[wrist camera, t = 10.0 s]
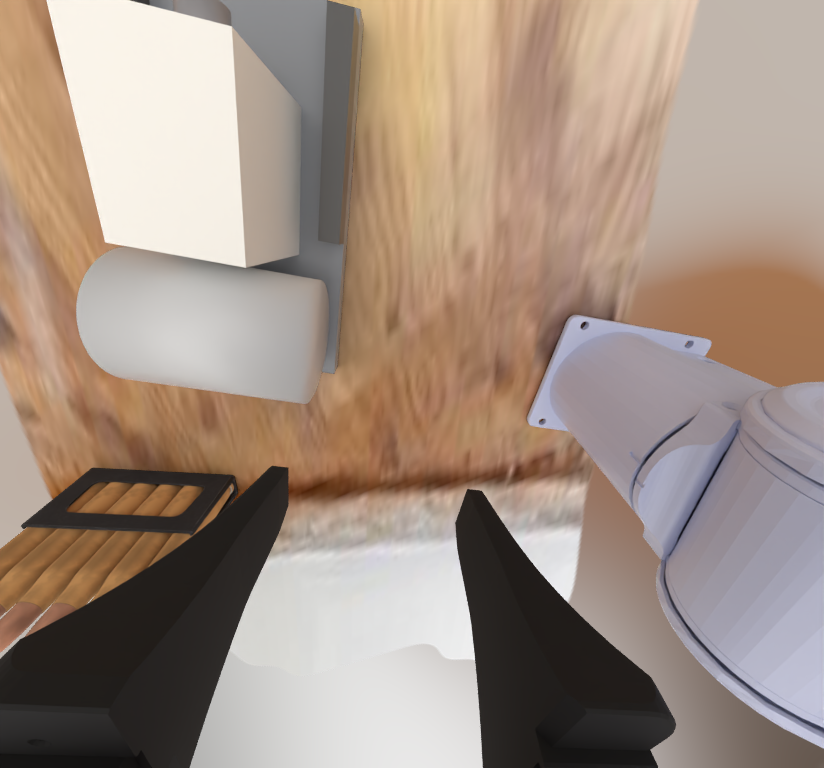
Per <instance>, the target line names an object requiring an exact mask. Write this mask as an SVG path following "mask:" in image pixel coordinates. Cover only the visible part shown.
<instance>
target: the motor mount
mask: <svg viewBox="0 0 824 768" xmlns="http://www.w3.org/2000/svg"><path fill="white" fill-rule="evenodd" d="M130 1H134V2H138V3H142V4H146V5H150V6H154V7H157V8H161V9H165V10H169V11H173V12H174V10H173V1H172V0H130ZM219 1H221V2H222V3H223V4H224V5H225V6H226V7H227V8H228V9H229V10H230V12H231V19H232V27H233V28H234V30H235V31H236V32H237V33H238V34H239V35H240V37H241V38H242V39H243V40H244V41H245V42H246V44H247V45H248V46H249V47H250V48H251V49H252V51H253V52H254V53H255V54H256V55H257V56H258V58H259V59H260V60H261V61H262V62H263V63H264V65H265V66H266V67H267V68H268V69H269V70H270V72H271V73H272V74H273V75H274V76H275V77H276V79H277V80H278V81H279V82H280V83H281V84H282V86H283V87H284V88H285V89H286V90H287V91H288V93H289V94H290V95H291V96H292V97H293V98H294V100H295V101H296V102H297V103H298V104H299V105H300V107H301V169H300V236H299V255H296V256H292V257H288V258H284V259H280V260H275V261H271V262H267V263H263V264H259V265H255V266H251V267H247V268H244V267H239V266H233V265H228V264H222V263H217V262H211V261H206V260H200V259H195V258H189V257H184V256H178V255H173V254H167V253H161V252H156V251H150V250H145V249H139V248H134V247H128V246H125V247H119V248H115V249H113V250H110V251H108V252H106V253H105V254H103V255H102V256H100V257H99V258H98V259H97V260H96V261H95V262H94V263H93V264H92V265H91V266H90V268H89V270H88V271H87V273H86V274H85V276H84V278H83V281H82V283H81V286H80V289H79V293H78V298H77V306H76V316H77V325H78V330H79V334H80V337H81V340H82V342H83V345H84V347H85V348H86V350H87V352H88V354H89V355H90V356H91V358H92V359H93V360H94V362H95V363H96V364H97V365H98V366H99V367H100V368H102V369H103V370H104V371H106V372H107V373H109V374H111V375H113V376H116V377H119V378H122V379H129V380H136V381H143V382H150V383H157V384H165V385H172V386H179V387H186V388H193V389H200V390H208V391H215V392H222V393H229V394H236V395H244V396H251V397H258V398H265V399H272V400H279V401H287V402H294V403H301V404H307V403H309V402H310V400H311V399H312V398H313V396H314V394H315V392H316V389H317V387H318V384H319V381H320V378H321V374H322V372H325V373H332V374H335V371H336V369H337V367H338V354H339V341H340V328H341V315H342V302H343V288H344V275H345V262H346V249H347V236H348V222H349V209H350V196H351V183H352V170H353V156H354V143H355V130H356V117H357V104H358V91H359V77H360V64H361V51H362V38H363V25H364V24H363V19H362V14H361V10H360V9H358V8H354V7H351V6H347V5H343V4H339V3H336V2H332V1H328V0H219Z"/></svg>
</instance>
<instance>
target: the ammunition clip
mask: <svg viewBox="0 0 824 768" xmlns="http://www.w3.org/2000/svg"><path fill="white" fill-rule="evenodd" d="M237 494H238V491H237V486H236V482H235V478H234V477H233V475H222V474H203V473H183V472H164V471H144V470H125V469H105V468H91V469H90V470H89V471H88V472H86V473H85V474H84V475H83V476H81V477H80V478H79V479H78V480H76V481H75V482H74V483H73V484H72V485H70V486H69V487H68V488H67V489H65V490H64V491H63V492H62V493H60V494H59V495H58V496H57V497H55V498H54V499H53V500H52V501H51V502H49V503H48V504H47V505H46V506H44V507H43V508H42V509H41V510H39V511H38V512H37V513H36V514H34V515H33V516H32V517H31V518H30V519H28V520H27V521H26V522H25V523H23V524H22V525H21V527H22V528H23V529H25V528H26V527H27V528H26V529H25V530H23V531H22V532H21V533H20V534H18V535H17V536H16V537H15V538H13V539H12V540H11V541H10V542H8V543H7V544H6V545H5V546H4V547H2V548H1V549H0V617H1V616H2V615H3V614H4V613H5V612H7V611H8V610H9V609H10V608H11V607H12V606H14V605H15V604H16V605H15V606H14V607H13V608H12V609H11V610H10V611H9V612H8V613H7V614H6V615H5V616H4V617H3V618H2V619H1V620H0V652H2V651H3V650H4V649H5V648H6V647H7V646H9V645H10V644H11V643H12V642H13V641H14V640H15V639H16V638H17V637H18V636H19V635H21V634H22V633H23V632H24V631H25V630H26V628H28V627H29V626H30V625H31V624H32V623H33V622H34V621H35V619H36V618H37V617H38V616H39V615H40V614H41V613H43V612H44V611H45V610H46V609H47V608H48V607H49V606H50V605H51V604H52V603H53V602H54V603H53V604H52V606H51V607H50V608H49V609H48V610H47V612H45V614H44V615H43V616H42V617H41V618H40V619H39V620H38V621H37V622H36V623H35V625H34V626H33V627H32V628H31V630H30V631H29V632H28V634H27V635H26V636H28V635H30V634H32V633H34V632H36V631H38V630H40V629H41V628H43V627H45V626H47V625H49V624H51V623H53V622H55V621H57V620H58V619H60V618H62V617H64V616H66V615H68V614H70V613H72V612H74V611H75V610H77V609H79V608H81V607H83V606H85V605H86V604H87V603H88V602H89V601H90V600H91V598H93V597H94V598H93V599H92V600H91V602H92V601H93V600H95V599H97V598H98V597H100V596H102V595H103V594H105V593H107V592H108V591H110V590H112V589H114V588H115V587H117V586H119V585H120V584H122V583H124V582H125V581H127V580H129V579H130V578H132V577H133V576H135V575H137V574H138V573H140V572H141V571H143V570H144V569H146V568H148V567H149V566H151V565H152V564H153V563H155V562H156V561H158V560H159V559H161V558H162V557H164V556H165V555H167V554H168V553H170V552H171V551H173V550H174V549H175V548H177V547H178V546H180V545H181V544H182V543H184V542H185V541H186V540H188V539H189V538H190V537H192V536H193V535H194V534H196V533H197V532H198V531H200V530H201V529H202V528H203V527H205V526H206V525H207V524H208V523H209V522H211V521H212V520H213V519H214V518H215V517H217V516H218V515H219V514H220V513H222V512H223V511H224V510H225V509H226V508H227V507H228V506H229V505H230V504H231V502H232V501H233V499H234V498H235V496H236V495H237ZM26 636H25V637H26Z"/></svg>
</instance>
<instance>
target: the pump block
mask: <svg viewBox="0 0 824 768" xmlns="http://www.w3.org/2000/svg"><path fill="white" fill-rule="evenodd" d="M172 1H173V10H174V12H173V11H169V10H165V9H161V8H157V7H154V6H150V5H146V4H142V3H138V2H134V1H130V0H47V4H48V8H49V12H50V16H51V21H52V25H53V29H54V33H55V37H56V41H57V45H58V49H59V53H60V58H61V62H62V66H63V70H64V74H65V78H66V82H67V86H68V91H69V95H70V99H71V103H72V107H73V111H74V115H75V119H76V123H77V128H78V132H79V136H80V140H81V144H82V148H83V152H84V156H85V160H86V165H87V169H88V173H89V177H90V181H91V185H92V189H93V193H94V197H95V202H96V206H97V210H98V214H99V218H100V222H101V226H102V230H103V234H104V239H105V242H106V243H112V244H117V245H123V246H128V247H134V248H139V249H145V250H150V251H156V252H161V253H167V254H173V255H178V256H184V257H189V258H195V259H200V260H206V261H211V262H217V263H222V264H228V265H233V266H239V267H244V268H247V267H251V266H255V265H259V264H263V263H267V262H271V261H275V260H280V259H284V258H288V257H292V256H296V255H299V236H300V169H301V107H300V105H299V104H298V103H297V102H296V101H295V100H294V98H293V97H292V96H291V95H290V94H289V93H288V91H287V90H286V89H285V88H284V87H283V86H282V84H281V83H280V82H279V81H278V80H277V79H276V77H275V76H274V75H273V74H272V73H271V72H270V70H269V69H268V68H267V67H266V66H265V65H264V63H263V62H262V61H261V60H260V59H259V58H258V56H257V55H256V54H255V53H254V52H253V51H252V49H251V48H250V47H249V46H248V45H247V44H246V42H245V41H244V40H243V39H242V38H241V37H240V35H239V34H238V33H237V32H236V31H235V30H234V28H233V27H232V19H231V12H230V10H229V9H228V8H227V7H226V6H225V5H224V4H223V3H222V2H221V1H219V0H172Z"/></svg>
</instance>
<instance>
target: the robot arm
mask: <svg viewBox="0 0 824 768" xmlns="http://www.w3.org/2000/svg"><path fill="white" fill-rule="evenodd" d="M583 322H586V325H585V326H584V327H583V328H580V326H581V324H582V323H583ZM686 342H688V343H687V345H685V344H686ZM710 347H711V341H710V340H708V339H706V338H702V337H697V336H691V335H685V334H680V333H675V332H669V331H664V330H658V329H653V328H648V327H642V326H637V325H631V324H626V323H620V322H615V321H609V320H604V319H598V318H593V317H587V316H582V315H573V316H571V317H570V318H568V320H567V322H566V324H565V326H564V329H563V331H562V334H561V336H560V339H559V341H558V343H557V346H556V348H555V351H554V353H553V356H552V358H551V360H550V363H549V365H548V368H547V370H546V373H545V375H544V378H543V380H542V382H541V385H540V387H539V390H538V392H537V395H536V397H535V399H534V402H533V404H532V407H531V409H530V412H529V414H528V416H527V422H528V423H529V424H530V425H531V426H534V427H541V428H548V429H556V430H563V431H570V433H571V434H572V435H573V436H574V437H575V439H576V440H577V441H578V442H579V444H580V445H581V446H582V447H583V449H584V450H585V451H586V452H587V454H588V455H589V456H590V457H591V458H592V460H593V461H594V462H595V463H596V465H597V466H598V467H599V468H600V470H601V471H602V472H603V473H604V474H605V476H606V477H607V478H608V479H609V481H610V482H611V483H612V484H613V486H614V487H615V488H616V489H617V491H619V493H620V494H621V495H622V497H623V498H624V499H625V500H626V502H627V503H628V504H629V505H630V506H631V508H632V509H633V510H634V512H635V513H636V514H637V515H638V516H639V518H640V519H641V520H642V522H643V523H644V527H645V530H644V534H643V537H644V539H645V540H646V541H647V542H648V544H649V545H650V546H651V547H652V549H653V550H654V551H655V553H656V554H657V555H658V556H659V558H660V559H661V560H662V561H661V563H660V565H659V567H658V570H657V574H656V589H657V593H658V597H659V601H660V603H661V606H662V609H663V611H664V613H665V615H666V617H667V619H668V620H669V622H670V624H671V626H672V628H673V629H674V630H675V632H676V634H677V635H678V636H679V638H680V639H681V640H682V642H683V643H684V645H685V646H686V647H687V648H688V650H689V651H690V652H691V653H692V654H693V655H694V657H695V658H696V659H697V660H698V661H699V662H700V663H701V664H702V665H703V666H704V667H705V668H706V669H707V670H708V671H709V672H710V673H711V674H712V675H713V676H714V677H715V678H716V679H717V680H718V681H719V682H720V683H721V684H722V685H724V686H725V687H726V688H727V689H728V690H729V691H731V692H732V693H733V694H734V695H735V696H736V697H738V698H739V699H741V700H742V701H743V702H745V703H746V704H747V705H749V706H750V707H751V708H753V709H754V710H755V711H757V712H758V713H760V714H761V715H763V716H764V717H766V718H768V719H769V720H771V721H772V722H774V723H776V724H777V725H779V726H780V727H782V728H784V729H786V730H788V731H790V732H792V733H794V734H796V735H798V736H800V737H802V738H804V739H806V740H808V741H810V742H812V743H814V744H816V745H818V746H820V747H822V748H824V382H807V383H798V384H794V385H789V386H786V387H778V388H777V387H775V386H772V385H770V384H768V383H765V382H763V381H761V380H758V379H756V378H754V377H751V376H749V375H747V374H744V373H742V372H740V371H737V370H735V369H732V368H730V367H728V366H726V365H723V364H721V363H719V362H716V361H714V360H712V359H709V358H707V357H705V355H706V354H707V352H708V350H709V349H710ZM541 419H544V420H543V421H541V422H539V420H541ZM287 508H288V468H286V467H277V466H271V467H270V468H269V469H268V470H267V471H266V472H265V473H264V474H263V475H262V476H261V477H260V478H259V479H258V480H257V481H256V482H255V483H254V484H252V485H251V486H250V487H249V488H248V489H247V490H246V491H245V492H244V493H243V494H242V495H241V496H240V497H238V498H237V499H236V500H235V501H234V502H233V503H232V504H231V505H230V506H228V507H227V508H226V509H225V510H224V511H223V512H222V513H220V514H219V515H218V516H217V517H215V518H214V519H213V520H212V521H211V522H209V523H208V524H207V525H206V526H205V527H203V528H202V529H201V530H200V531H198V532H197V533H196V534H194V535H193V536H192V537H190V538H189V539H188V540H186V541H185V542H184V543H182V544H181V545H180V546H178V547H177V548H175V549H174V550H173V551H171V552H170V553H168V554H167V555H165V556H164V557H162V558H161V559H159V560H158V561H156V562H155V563H153V564H152V565H151V566H149V567H148V568H146V569H144V570H143V571H141V572H140V573H138V574H137V575H135V576H133V577H132V578H130V579H129V580H127V581H125V582H124V583H122V584H120V585H119V586H117V587H115V588H114V589H112V590H110V591H108V592H107V593H105V594H103V595H102V596H100V597H98V598H97V599H95V600H93V601H92V602H90V603H88V604H86V605H85V606H83V607H81V608H79V609H77V610H75V611H74V612H72V613H70V614H68V615H66V616H64V617H62V618H60V619H58V620H57V621H55V622H53V623H51V624H49V625H47V626H45V627H43V628H41V629H40V630H38V631H36V632H34V633H32V634H30V635H28V636H26V637H24V638H22V639H20V640H19V641H18V642H17V643H16V644H15V645H14V646H13V647H12V648H11V649H10V650H9V651H8V652H7V653H6V654H5V655H4V656H3V657H2V658H1V659H0V768H189V767H190V764H191V761H192V758H193V755H194V751H195V749H196V746H197V742H198V739H199V736H200V733H201V730H202V727H203V724H204V721H205V718H206V715H207V712H208V709H209V706H210V703H211V700H212V697H213V694H214V691H215V688H216V686H217V683H218V680H219V677H220V674H221V671H222V668H223V665H224V663H225V660H226V657H227V654H228V651H229V649H230V646H231V643H232V640H233V637H234V635H235V632H236V629H237V627H238V624H239V621H240V619H241V616H242V613H243V611H244V608H245V605H246V603H247V601H248V598H249V596H250V594H251V591H252V589H253V587H254V585H255V583H256V581H257V579H258V576H259V574H260V572H261V570H262V568H263V566H264V564H265V562H266V559H267V557H268V555H269V553H270V551H271V549H272V547H273V544H274V542H275V540H276V538H277V536H278V534H279V531H280V529H281V526H282V523H283V520H284V517H285V514H286V511H287ZM455 524H456V538H457V549H458V555H459V560H460V565H461V570H462V576H463V581H464V586H465V591H466V596H467V601H468V606H469V612H470V618H471V624H472V634H473V643H474V652H475V663H476V673H477V683H478V697H479V710H480V724H481V740H482V759H483V768H658V765H657V763H656V761H655V759H654V757H653V755H652V753H651V751H650V749H652V748H653V747H655V746H656V745H658V744H659V743H661V742H662V741H663V740H665V739H667V738H668V737H669V736H670V735H671V734H673V732H674V730H675V727H676V723H675V719H674V718H673V716H672V714H671V712H670V710H669V708H668V707H667V705H666V703H665V701H664V699H663V698H662V696H661V694H660V692H659V690H658V689H657V687H656V685H655V683H654V682H653V680H652V678H651V677H650V676H649V675H648V674H646V673H645V672H644V671H643V670H642V669H640V668H639V667H638V666H637V665H635V664H634V663H633V662H632V661H631V660H629V659H628V658H627V657H626V656H625V655H623V654H622V653H621V652H620V651H619V650H617V649H616V648H615V647H614V646H613V645H612V644H610V643H609V642H608V641H607V640H606V639H605V638H604V637H603V636H602V635H601V634H599V633H598V632H597V631H596V630H595V629H594V628H593V627H592V626H591V625H590V624H589V623H588V622H586V621H585V620H584V619H583V618H582V617H581V616H580V615H579V614H578V613H577V612H576V611H575V610H574V609H573V608H572V607H571V606H570V605H569V604H568V603H567V602H566V601H565V600H564V599H563V597H562V596H561V595H560V594H559V593H558V592H557V591H556V590H555V589H554V588H553V587H552V586H551V584H550V583H549V582H548V581H547V580H546V579H545V578H544V576H543V575H542V574H541V573H540V572H539V571H538V569H537V568H536V567H535V566H534V565H533V563H532V562H531V561H530V560H529V558H528V557H527V556H526V554H525V553H524V552H523V551H522V549H521V548H520V547H519V545H518V544H517V542H516V541H515V540H514V538H513V537H512V535H511V534H510V533H509V531H508V530H507V528H506V527H505V525H504V524H503V522H502V521H501V519H500V518H499V516H498V515H497V513H496V512H495V510H494V509H493V507H492V506H491V504H490V503H489V501H488V500H487V498H486V496H485V495H484V493H483V492H482V491H479V490H470V489H467V492H466V494H465V497H464V500H463V503H462V506H461V509H460V512H459V514H458V517H457V520H456V523H455Z"/></svg>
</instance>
